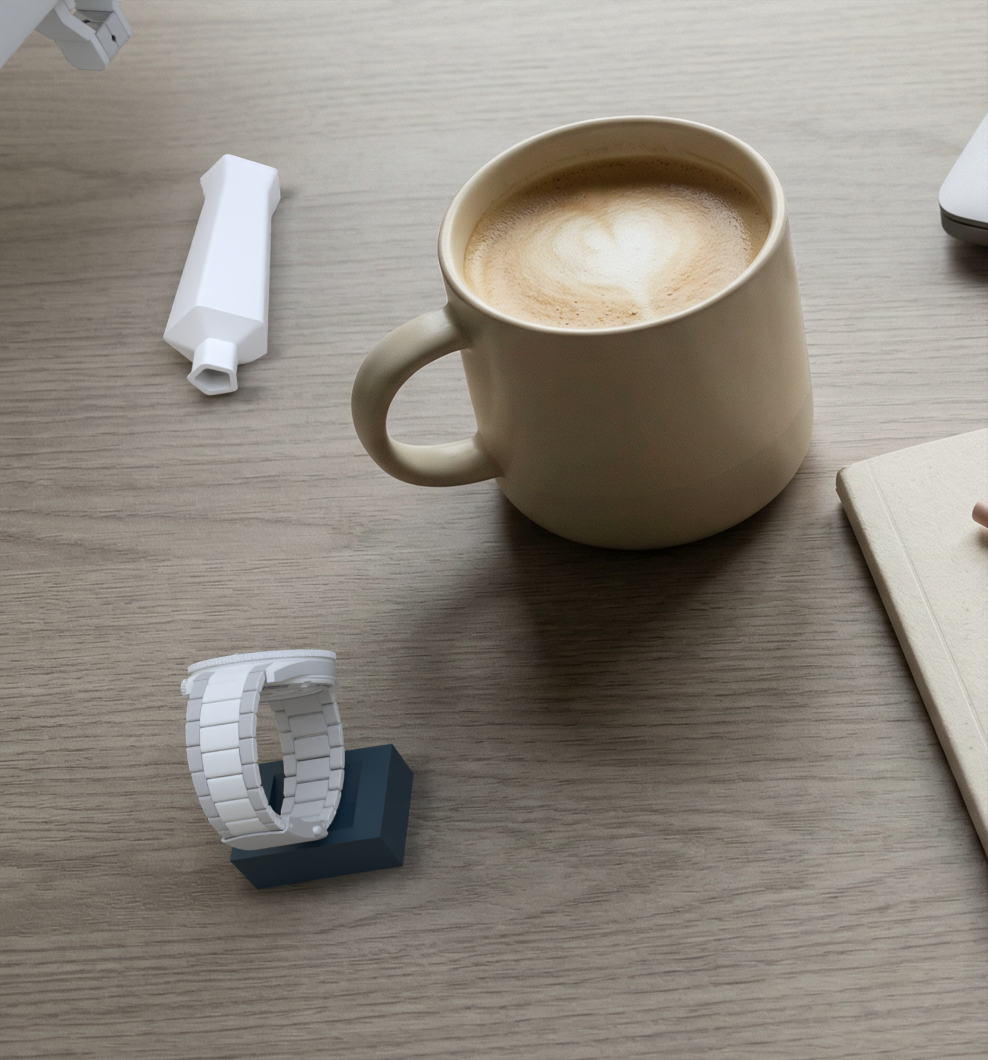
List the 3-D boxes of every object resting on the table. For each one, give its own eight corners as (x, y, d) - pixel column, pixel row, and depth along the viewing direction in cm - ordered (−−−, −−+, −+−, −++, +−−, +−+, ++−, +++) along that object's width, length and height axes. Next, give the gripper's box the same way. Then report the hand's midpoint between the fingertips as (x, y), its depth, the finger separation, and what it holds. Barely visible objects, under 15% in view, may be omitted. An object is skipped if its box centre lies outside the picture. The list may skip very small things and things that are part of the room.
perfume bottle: (269, 142, 90) (242, 337, 81) (304, 205, 94) (281, 399, 85) (176, 155, 89) (138, 353, 80) (214, 219, 93) (182, 416, 84)
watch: (424, 743, 73) (319, 589, 64) (404, 913, 68) (288, 772, 59) (285, 764, 72) (160, 611, 63) (255, 938, 67) (115, 798, 58)
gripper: (-4, -342, 78) (142, -71, 89) (-285, -98, 65) (-74, 183, 76) (131, -335, 78) (261, -64, 89) (-124, -89, 65) (64, 192, 76)
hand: (105, 52), depth 82 cm, fingers closed
